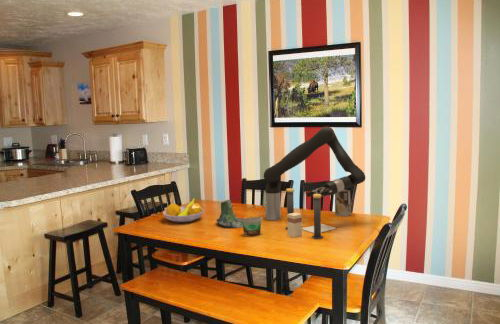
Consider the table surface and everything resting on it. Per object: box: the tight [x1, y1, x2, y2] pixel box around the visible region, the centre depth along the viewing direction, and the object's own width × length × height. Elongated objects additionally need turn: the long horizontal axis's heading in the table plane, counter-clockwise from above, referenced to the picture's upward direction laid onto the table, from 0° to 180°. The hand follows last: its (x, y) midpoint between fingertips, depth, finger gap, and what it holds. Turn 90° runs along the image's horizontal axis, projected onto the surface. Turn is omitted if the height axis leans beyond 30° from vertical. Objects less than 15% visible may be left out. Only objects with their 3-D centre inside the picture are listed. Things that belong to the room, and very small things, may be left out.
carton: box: [286, 212, 303, 238], centre depth 229 cm, size 6×6×12 cm
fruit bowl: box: [162, 197, 205, 223], centre depth 271 cm, size 28×27×11 cm
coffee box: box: [334, 189, 352, 217], centre depth 270 cm, size 9×6×16 cm
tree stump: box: [216, 199, 243, 229], centre depth 255 cm, size 18×20×18 cm
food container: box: [240, 215, 263, 237], centre depth 232 cm, size 12×6×10 cm, turn 105°
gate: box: [285, 188, 324, 240], centre depth 232 cm, size 28×6×24 cm, turn 35°
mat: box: [302, 223, 337, 234], centre depth 240 cm, size 12×16×1 cm
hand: (310, 195), depth 236 cm, fingers open, 8 cm apart
